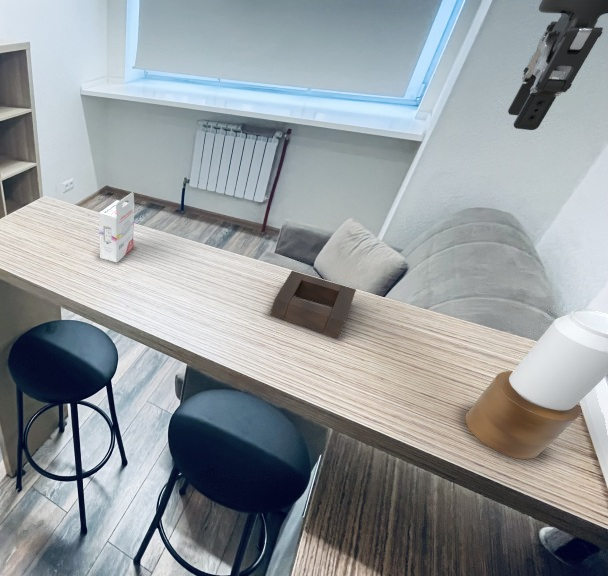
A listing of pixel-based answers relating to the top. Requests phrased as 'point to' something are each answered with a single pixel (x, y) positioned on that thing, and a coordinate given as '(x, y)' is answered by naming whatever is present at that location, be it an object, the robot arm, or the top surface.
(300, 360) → the top surface
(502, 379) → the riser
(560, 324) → the beverage can
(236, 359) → the top surface
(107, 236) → the ink cartridge box
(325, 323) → the can stand
